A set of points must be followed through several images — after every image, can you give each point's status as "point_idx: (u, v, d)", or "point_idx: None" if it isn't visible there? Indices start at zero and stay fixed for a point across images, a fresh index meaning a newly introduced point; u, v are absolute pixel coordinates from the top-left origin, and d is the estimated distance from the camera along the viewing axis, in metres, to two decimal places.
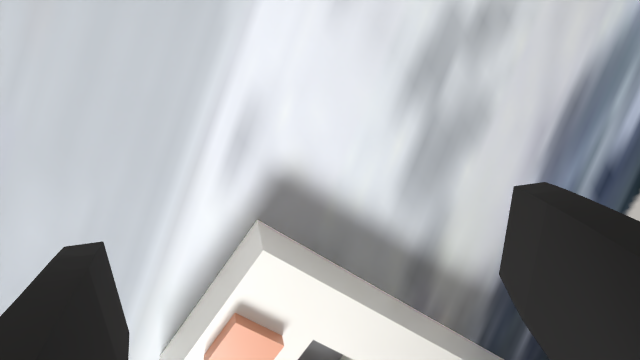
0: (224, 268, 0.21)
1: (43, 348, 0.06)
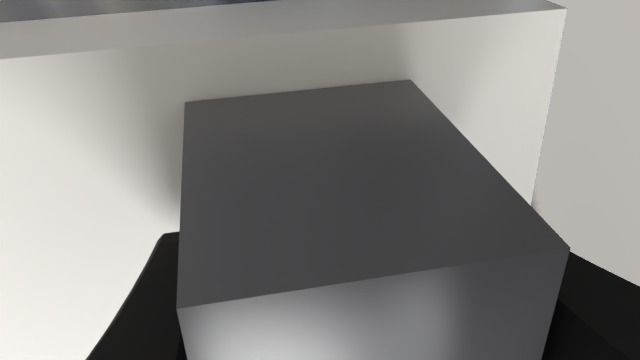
0: None
1: None
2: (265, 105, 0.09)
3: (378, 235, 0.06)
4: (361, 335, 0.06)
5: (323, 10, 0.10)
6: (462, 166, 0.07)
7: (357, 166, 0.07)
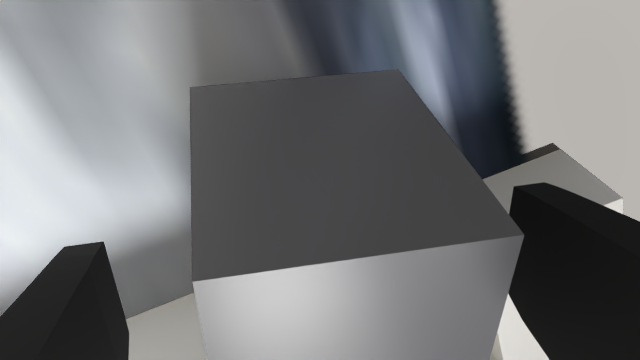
0: None
1: (43, 348, 0.06)
2: (264, 92, 0.10)
3: (362, 221, 0.07)
4: (346, 304, 0.07)
5: None
6: (438, 157, 0.08)
7: (346, 155, 0.08)
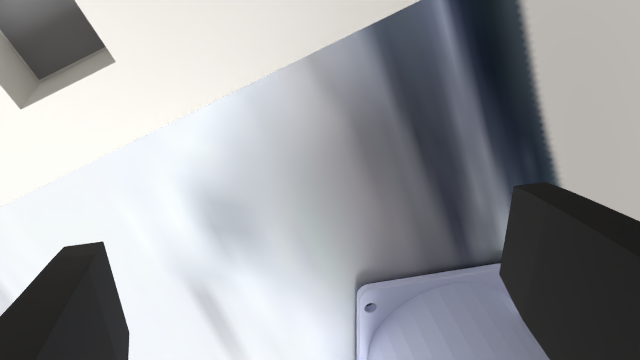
0: None
1: (43, 348, 0.06)
2: None
3: None
4: None
5: None
6: None
7: None
